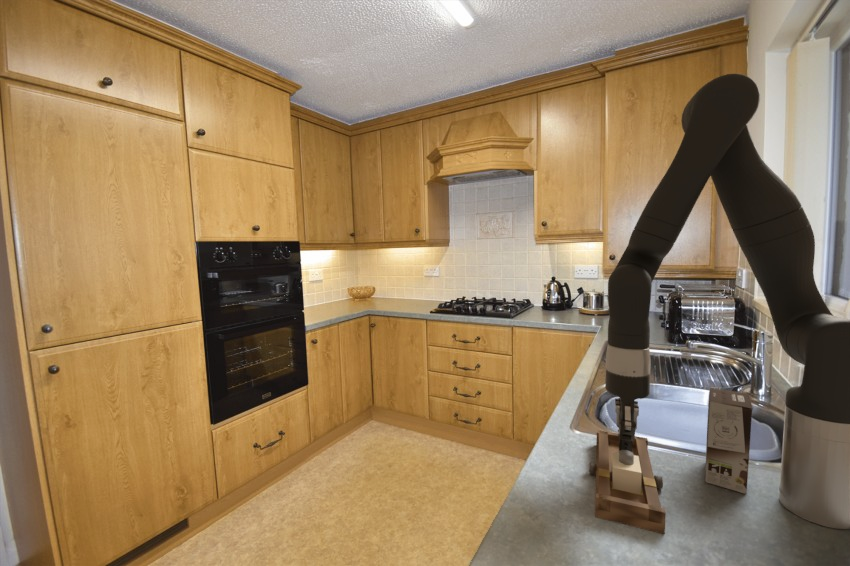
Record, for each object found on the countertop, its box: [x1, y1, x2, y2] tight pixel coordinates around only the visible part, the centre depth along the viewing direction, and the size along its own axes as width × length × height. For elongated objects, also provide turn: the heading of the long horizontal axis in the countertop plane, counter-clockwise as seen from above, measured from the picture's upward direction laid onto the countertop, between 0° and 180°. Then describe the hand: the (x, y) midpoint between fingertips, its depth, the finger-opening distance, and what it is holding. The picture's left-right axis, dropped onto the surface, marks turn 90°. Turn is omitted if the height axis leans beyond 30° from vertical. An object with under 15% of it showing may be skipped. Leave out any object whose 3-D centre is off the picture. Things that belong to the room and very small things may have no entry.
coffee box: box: [704, 387, 753, 494], centre depth 75 cm, size 9×6×16 cm
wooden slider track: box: [588, 429, 667, 535], centre depth 75 cm, size 12×26×4 cm, turn 156°
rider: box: [612, 450, 642, 495], centre depth 72 cm, size 4×6×6 cm
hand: (625, 455), depth 76 cm, fingers closed
